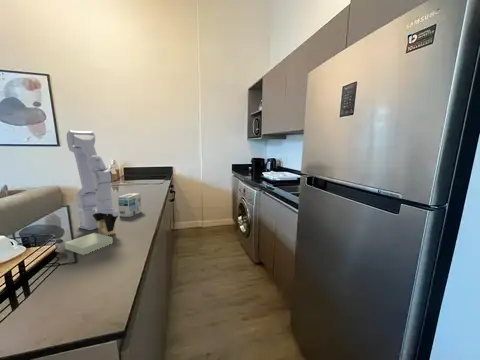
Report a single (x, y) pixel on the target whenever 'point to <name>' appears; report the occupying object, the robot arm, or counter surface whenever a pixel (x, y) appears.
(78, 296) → the counter surface
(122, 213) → the light bulb box
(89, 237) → the sage box
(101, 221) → the birch block
